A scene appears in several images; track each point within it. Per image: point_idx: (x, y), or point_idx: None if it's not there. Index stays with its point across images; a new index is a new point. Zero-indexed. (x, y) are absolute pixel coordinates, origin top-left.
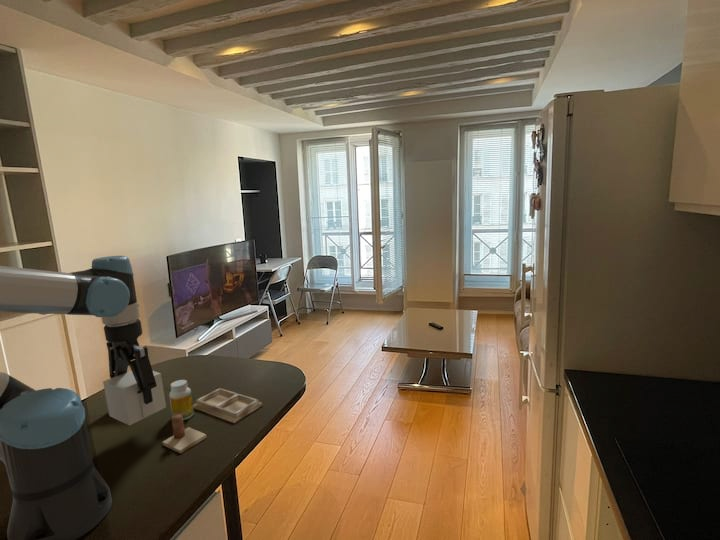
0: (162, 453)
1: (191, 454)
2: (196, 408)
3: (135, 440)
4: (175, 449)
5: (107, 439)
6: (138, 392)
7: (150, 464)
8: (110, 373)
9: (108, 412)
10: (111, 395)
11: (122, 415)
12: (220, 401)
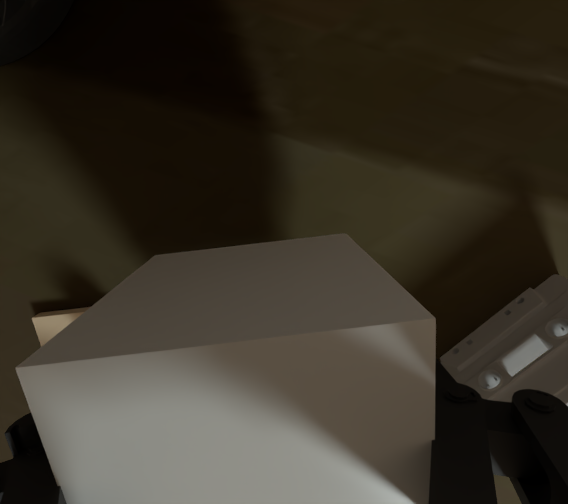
0: (90, 279)
1: (7, 330)
2: None
3: None
4: (61, 312)
5: (354, 200)
6: (32, 416)
7: (54, 228)
8: (563, 426)
9: (554, 275)
10: (290, 285)
11: (201, 260)
12: None
